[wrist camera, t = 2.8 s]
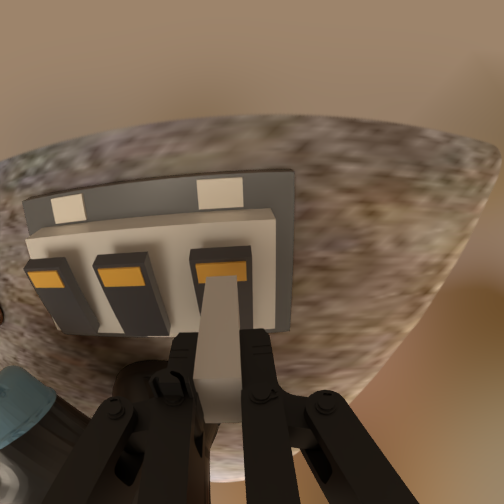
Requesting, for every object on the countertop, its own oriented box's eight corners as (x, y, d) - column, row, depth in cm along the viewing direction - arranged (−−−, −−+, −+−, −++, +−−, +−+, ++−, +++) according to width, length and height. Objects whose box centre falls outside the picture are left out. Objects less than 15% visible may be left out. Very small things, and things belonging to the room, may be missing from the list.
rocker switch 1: (66, 323, 23) (62, 334, 22) (29, 259, 18) (22, 270, 17) (100, 324, 24) (96, 336, 23) (65, 256, 19) (58, 268, 18)
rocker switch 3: (205, 323, 24) (204, 336, 23) (190, 248, 19) (188, 262, 18) (252, 321, 24) (253, 334, 23) (250, 245, 19) (252, 258, 18)
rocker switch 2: (128, 325, 24) (125, 337, 23) (97, 254, 19) (91, 266, 18) (170, 324, 24) (169, 337, 23) (147, 251, 19) (143, 264, 18)
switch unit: (69, 326, 29) (51, 355, 24) (30, 197, 23) (-2, 213, 18) (287, 322, 31) (297, 356, 26) (290, 169, 24) (306, 180, 19)
